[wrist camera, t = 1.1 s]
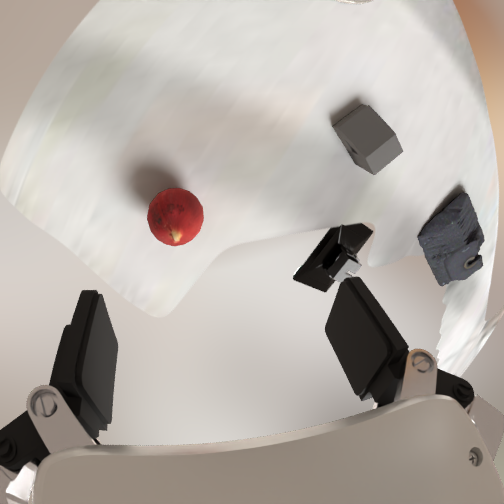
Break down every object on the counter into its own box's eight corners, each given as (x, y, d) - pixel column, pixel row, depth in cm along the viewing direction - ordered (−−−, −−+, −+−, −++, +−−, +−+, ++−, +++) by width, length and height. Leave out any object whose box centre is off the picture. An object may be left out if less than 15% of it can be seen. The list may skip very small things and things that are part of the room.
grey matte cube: (361, 103, 30) (383, 108, 26) (382, 142, 33) (403, 151, 29) (331, 125, 31) (351, 132, 27) (355, 163, 34) (374, 175, 30)
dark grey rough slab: (464, 175, 39) (482, 186, 36) (482, 242, 51) (495, 253, 47) (410, 234, 44) (428, 249, 40) (440, 289, 55) (452, 302, 51)
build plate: (324, 291, 46) (336, 310, 42) (290, 277, 43) (300, 298, 39) (373, 230, 41) (389, 246, 38) (341, 209, 38) (358, 224, 34)
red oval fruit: (141, 207, 32) (131, 243, 25) (171, 168, 30) (167, 195, 23) (180, 233, 35) (181, 273, 28) (211, 198, 33) (219, 231, 26)
